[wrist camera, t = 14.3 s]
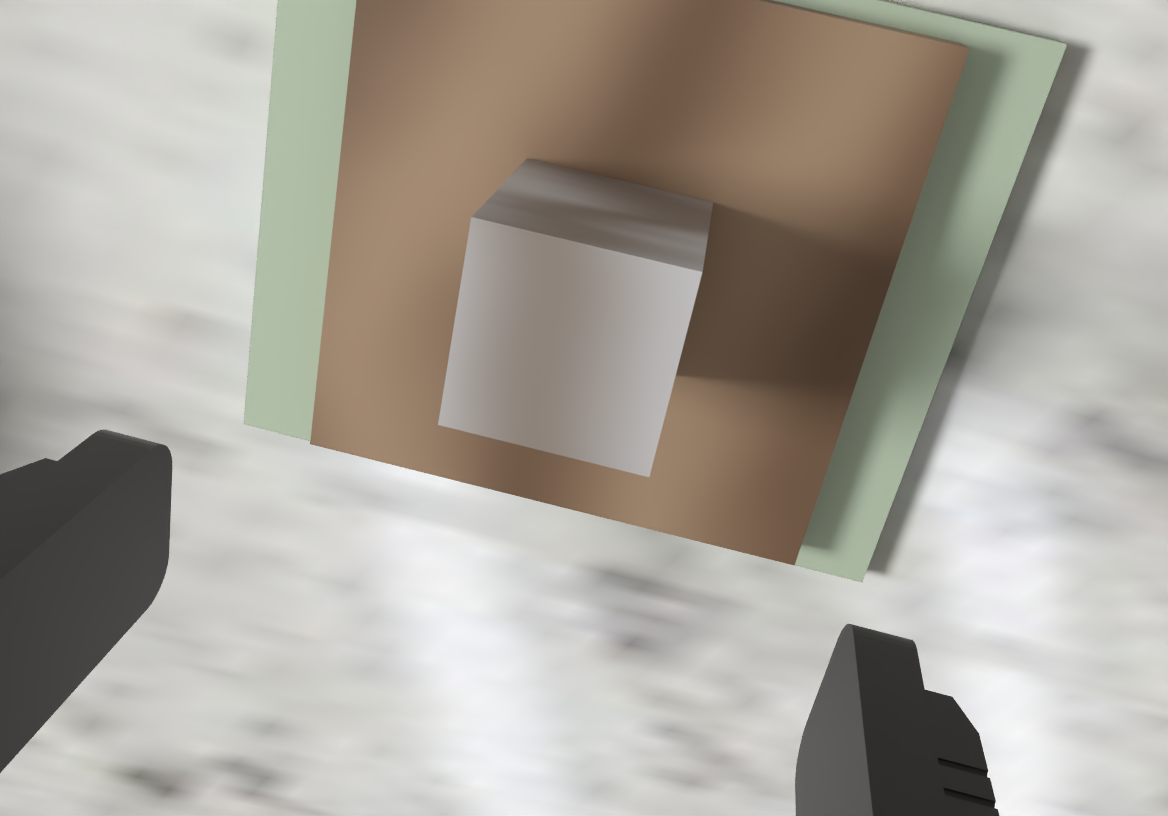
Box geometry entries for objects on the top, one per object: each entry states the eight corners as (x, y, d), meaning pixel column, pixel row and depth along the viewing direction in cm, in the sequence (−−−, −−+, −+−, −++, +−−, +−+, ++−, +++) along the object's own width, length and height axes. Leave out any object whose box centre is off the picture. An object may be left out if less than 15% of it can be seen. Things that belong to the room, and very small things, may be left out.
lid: (960, 43, 22) (1027, 84, 16) (793, 543, 27) (802, 701, 22) (381, -88, 22) (262, -90, 17) (324, 426, 28) (218, 551, 22)
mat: (1059, 41, 22) (1067, 44, 22) (860, 569, 28) (862, 582, 27) (299, -135, 23) (288, -137, 22) (253, 414, 28) (243, 424, 28)
